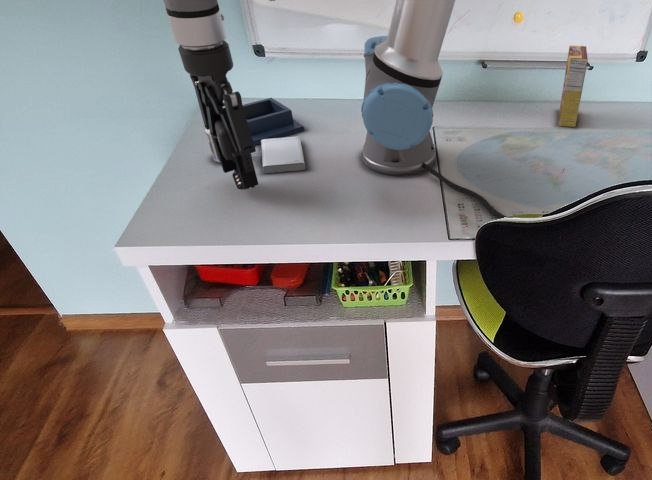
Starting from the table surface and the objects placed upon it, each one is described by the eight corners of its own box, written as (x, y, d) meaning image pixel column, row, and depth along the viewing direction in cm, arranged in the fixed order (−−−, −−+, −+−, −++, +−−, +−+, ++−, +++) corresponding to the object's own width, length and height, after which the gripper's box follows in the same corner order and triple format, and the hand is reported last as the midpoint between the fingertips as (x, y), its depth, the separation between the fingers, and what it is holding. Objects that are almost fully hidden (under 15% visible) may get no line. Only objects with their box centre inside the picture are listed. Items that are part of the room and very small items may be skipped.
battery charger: (228, 176, 103) (210, 116, 95) (248, 172, 104) (232, 113, 96) (234, 193, 99) (216, 132, 90) (256, 189, 100) (239, 128, 92)
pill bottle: (242, 155, 113) (231, 115, 107) (228, 165, 109) (217, 124, 103) (222, 151, 114) (211, 110, 108) (208, 160, 110) (196, 120, 104)
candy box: (557, 111, 135) (569, 44, 124) (574, 112, 135) (588, 45, 124) (557, 126, 129) (569, 56, 118) (575, 127, 128) (589, 58, 117)
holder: (304, 130, 122) (301, 112, 119) (251, 146, 116) (247, 127, 113) (273, 110, 129) (269, 93, 126) (221, 124, 123) (217, 106, 120)
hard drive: (304, 162, 108) (299, 135, 116) (262, 166, 106) (260, 138, 115) (305, 170, 109) (300, 143, 118) (264, 174, 108) (262, 146, 116)
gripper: (255, 54, 81) (286, 192, 97) (197, 23, 91) (234, 152, 107) (208, 65, 77) (248, 206, 94) (153, 31, 87) (198, 164, 104)
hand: (240, 177), depth 101 cm, fingers closed on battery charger, 7 cm apart
